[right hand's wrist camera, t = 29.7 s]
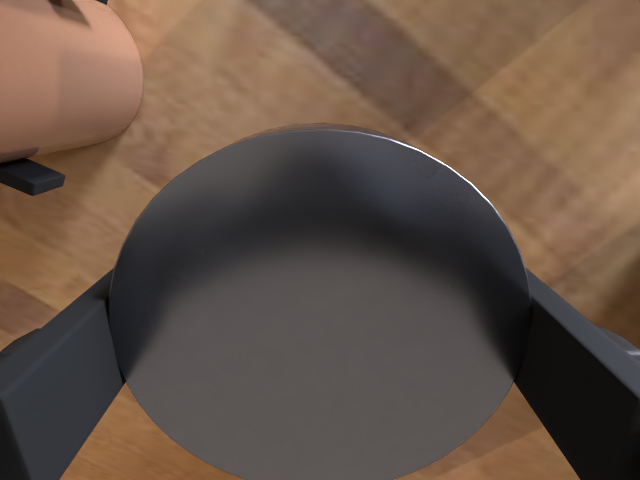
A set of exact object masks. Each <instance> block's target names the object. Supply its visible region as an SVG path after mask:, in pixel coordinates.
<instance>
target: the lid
mask: <svg viewBox="0 0 640 480" xmlns="http://www.w3.org/2000/svg"><path fill="white" fill-rule="evenodd" d="M530 325H531V297H530V290H529V283H528V276H527V272H526V269H525V266H524V262H523V259H522V256H521V253H520V250H519V248H518V246H517V244H516V242H515V240H514V238H513V236H512V234H511V232H510V230H509V228H508V226H507V225H506V223H505V222H504V220H503V219H502V218H501V216H500V215H499V213H498V212H497V211H496V209H495V208H494V206H493V205H492V204H491V203H490V202H489V201H488V200H487V199H486V198H485V197H484V196H483V194H482V193H481V192H480V191H479V190H478V189H477V188H476V187H475V186H474V185H473V184H472V183H471V182H469V181H468V180H467V179H465V178H464V177H463V176H461V175H460V174H459V173H457V172H456V171H455V170H453V169H452V168H451V167H449V166H448V165H446V164H445V163H443V162H441V161H439V160H437V159H436V158H434V157H432V156H430V155H428V154H427V153H425V152H423V151H421V150H419V149H417V148H416V147H414V146H412V145H410V144H408V143H406V142H404V141H402V140H399V139H397V138H394V137H391V136H389V135H386V134H384V133H381V132H378V131H374V130H369V129H365V128H361V127H356V126H352V125H341V124H330V123H313V124H295V125H290V126H284V127H279V128H274V129H269V130H266V131H263V132H260V133H257V134H254V135H251V136H248V137H245V138H242V139H240V140H238V141H236V142H234V143H232V144H230V145H228V146H226V147H224V148H222V149H220V150H218V151H216V152H215V153H213V154H211V155H209V156H207V157H205V158H203V159H202V160H200V161H198V162H197V163H195V164H194V165H192V166H191V167H190V168H188V169H187V170H185V171H184V172H182V173H181V174H179V175H178V176H177V177H175V178H174V179H173V180H172V181H171V182H170V183H169V184H168V185H166V186H165V187H164V188H163V189H162V190H161V191H160V192H159V193H158V194H157V195H156V196H155V197H154V198H153V199H152V200H151V201H150V203H149V204H148V205H147V207H146V208H145V209H144V210H143V212H142V213H141V214H140V216H139V217H138V218H137V219H136V221H135V223H134V224H133V226H132V228H131V230H130V232H129V234H128V235H127V237H126V239H125V241H124V243H123V245H122V247H121V250H120V253H119V256H118V258H117V261H116V264H115V267H114V271H113V276H112V281H111V287H110V292H109V326H110V332H111V337H112V342H113V346H114V350H115V354H116V358H117V363H118V365H119V368H120V370H121V372H122V374H123V376H124V379H125V381H126V383H127V385H128V387H129V389H130V390H131V392H132V393H133V395H134V397H135V398H136V400H137V401H138V403H139V405H140V406H141V407H142V408H143V410H144V411H145V412H146V413H147V414H148V416H149V417H150V418H151V419H152V421H153V422H154V423H155V424H156V425H157V426H158V427H159V428H160V429H161V430H162V431H163V432H165V433H166V434H167V435H168V436H169V437H170V438H171V439H172V440H174V441H175V442H176V443H177V444H179V445H180V446H181V447H183V448H184V449H185V450H187V451H188V452H190V453H191V454H193V455H195V456H196V457H198V458H199V459H201V460H203V461H204V462H206V463H208V464H210V465H212V466H214V467H216V468H218V469H221V470H223V471H225V472H227V473H229V474H232V475H235V476H238V477H241V478H243V479H246V480H393V479H396V478H399V477H402V476H405V475H408V474H410V473H412V472H414V471H417V470H419V469H421V468H423V467H426V466H428V465H430V464H431V463H433V462H435V461H437V460H438V459H440V458H442V457H444V456H445V455H447V454H448V453H450V452H451V451H453V450H454V449H455V448H457V447H458V446H459V445H461V444H462V443H464V442H465V441H466V440H467V439H468V438H469V437H471V436H472V435H473V434H474V433H475V432H476V431H477V430H478V429H479V428H480V427H482V425H483V424H484V423H485V422H486V421H487V420H488V419H489V417H490V416H491V415H492V414H493V413H494V412H495V411H496V409H497V408H498V406H499V405H500V403H501V402H502V400H503V399H504V397H505V396H506V394H507V393H508V391H509V390H510V388H511V386H512V384H513V382H514V380H515V378H516V376H517V374H518V372H519V370H520V366H521V363H522V360H523V356H524V352H525V348H526V344H527V339H528V334H529V330H530Z"/></svg>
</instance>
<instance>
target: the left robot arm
mask: <svg viewBox="0 0 640 480" xmlns="http://www.w3.org/2000/svg"><path fill="white" fill-rule="evenodd" d="M96 1H98V2H101V3H103V4H105V5H107V1H108V0H96ZM64 179H65V175H64V174H61V173H59V172H57V171H54V170H52V169H50V168H47V167H45V166H43V165H40V164H38V163H36V162H33V161H31V160H29V159H26V158H23V159H18V160H13V161H8V162H3V163H0V183H3V184H5V185H7V186H10V187H12V188H15V189H17V190H19V191H22V192H24V193H27V194H29V195H31V196H34V195H37V194H40V193H43V192H46V191H49V190H52V189H55V188H58V187H61V186H63V183H64Z"/></svg>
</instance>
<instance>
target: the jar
mask: <svg viewBox="0 0 640 480" xmlns="http://www.w3.org/2000/svg"><path fill="white" fill-rule="evenodd" d="M143 86H144V82H143V69H142V63H141V59H140V56H139V52H138V50H137V47H136V45H135V42H134V40H133V39H132V37H131V35H130V33H129V31H128V30H127V28H126V27H125V25H124V24H123V22H122V21H121V20H120V19H119V18H118V16H117V15H116V14H115V13H114V12H113V11H112V10H111V9H110V8H109V7H108V6H107V5H105V4H103V3H101V2H98V1H96V0H0V163H3V162H8V161H13V160H18V159H23V158H28V157H33V156H38V155H43V154H48V153H53V152H58V151H63V150H68V149H73V148H78V147H83V146H88V145H93V144H98V143H102V142H105V141H108V140H110V139H112V138H114V137H116V136H117V135H119V134H120V133H121V132H123V131H124V130H125V129H126V128H127V127H128V126H129V124H130V123H131V122H132V121H133V119H134V117H135V115H136V114H137V112H138V109H139V106H140V104H141V99H142V95H143Z"/></svg>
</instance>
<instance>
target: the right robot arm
mask: <svg viewBox="0 0 640 480" xmlns="http://www.w3.org/2000/svg"><path fill="white" fill-rule="evenodd" d="M525 269H526V272H527V276H528V283H529V290H530V297H531V325H530V330H529V334H528V339H527V344H526V348H525V352H524V356H523V360H522V363H521V366H520V370H519V372H518V374H517V376H516V378H515V380H514V383H515V384H516V386H517V387H518V388H519V390H520V391H521V393H522V394H523V396H524V397H525V399H526V400H527V402H528V403H529V405H530V406H531V408H532V409H533V411H534V412H535V413H536V415H537V416H538V418H539V419H540V421H541V422H542V424H543V425H544V427H545V428H546V430H547V431H548V433H549V434H550V436H551V437H552V438H553V440H554V441H555V443H556V444H557V446H558V447H559V449H560V450H561V452H562V453H563V455H564V456H565V458H566V459H567V461H568V462H569V463H570V465H571V466H572V468H573V469H574V471H575V472H576V474H577V475H578V477H579V478H580V480H640V350H639V349H638V348H636V347H635V346H634V345H633V344H631V343H630V342H629V341H628V340H626V339H625V338H623V337H621V336H619V335H617V334H615V333H613V332H611V331H609V330H607V329H605V328H603V327H596V326H595V325H594V324H593V323H591V322H590V321H589V320H588V319H587V318H585V317H584V316H583V315H582V314H581V313H579V312H578V311H577V310H576V309H575V308H573V307H572V306H571V305H570V304H569V303H567V302H566V301H565V300H564V299H563V298H561V297H560V296H559V295H558V294H557V293H555V292H554V291H553V290H552V289H551V288H549V287H548V286H547V285H546V284H545V283H543V282H542V281H541V280H540V279H539V278H537V277H536V276H535V275H534V274H533V273H531V272H530V271H529V270H528V269H527V268H525ZM113 271H114V268H113V269H112V270H111V271H110V272H108V273H107V274H106V275H105V276H104V277H102V278H101V279H100V280H99V281H98V282H96V283H95V284H94V285H93V286H92V287H90V288H89V289H88V290H87V291H86V292H84V293H83V294H82V295H81V296H80V297H78V298H77V299H76V300H75V301H74V302H72V303H71V304H70V305H69V306H68V307H66V308H65V309H64V310H63V311H62V312H60V313H59V314H58V315H57V316H56V317H54V318H53V319H52V320H51V321H50V322H48V323H47V324H46V325H45V326H44V327H42V328H41V329H35V330H34V331H32V332H30V333H28V334H26V335H24V336H22V337H20V338H18V339H16V340H14V341H13V342H12V343H11V344H9V345H8V346H7V347H6V348H4V349H3V350H2V351H1V352H0V480H59V479H60V478H61V476H62V475H63V473H64V472H65V470H66V469H67V468H68V466H69V465H70V463H71V462H72V460H73V459H74V457H75V456H76V454H77V453H78V451H79V450H80V448H81V447H82V445H83V444H84V443H85V441H86V440H87V438H88V437H89V435H90V434H91V432H92V431H93V429H94V428H95V426H96V425H97V423H98V422H99V420H100V419H101V418H102V416H103V415H104V413H105V412H106V410H107V409H108V407H109V406H110V404H111V403H112V401H113V400H114V398H115V397H116V395H117V394H118V392H119V391H120V390H121V388H122V387H123V385H124V384H125V382H126V381H125V379H124V376H123V374H122V372H121V370H120V368H119V365H118V363H117V358H116V354H115V350H114V346H113V342H112V337H111V332H110V326H109V292H110V287H111V281H112V276H113Z"/></svg>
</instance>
